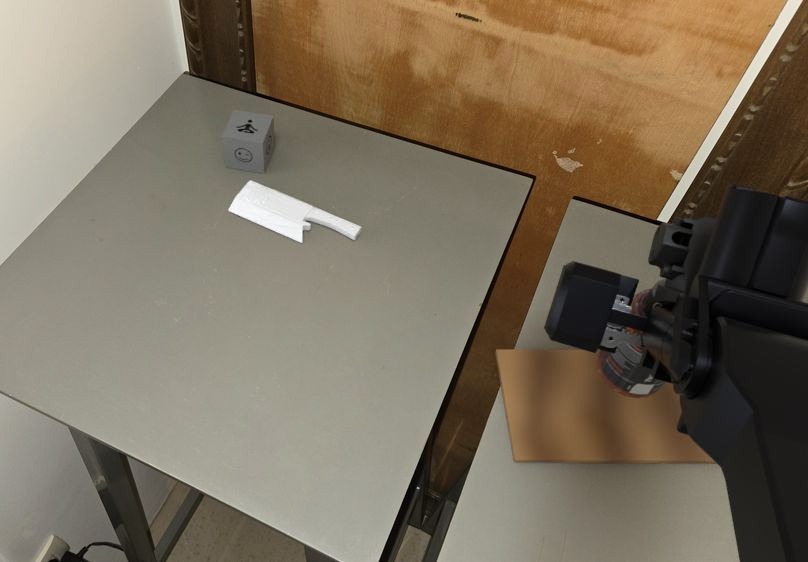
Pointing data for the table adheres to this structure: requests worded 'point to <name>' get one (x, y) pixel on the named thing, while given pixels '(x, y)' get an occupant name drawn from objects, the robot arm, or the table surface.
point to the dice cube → (248, 141)
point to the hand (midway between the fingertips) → (657, 318)
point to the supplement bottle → (631, 357)
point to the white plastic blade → (285, 213)
